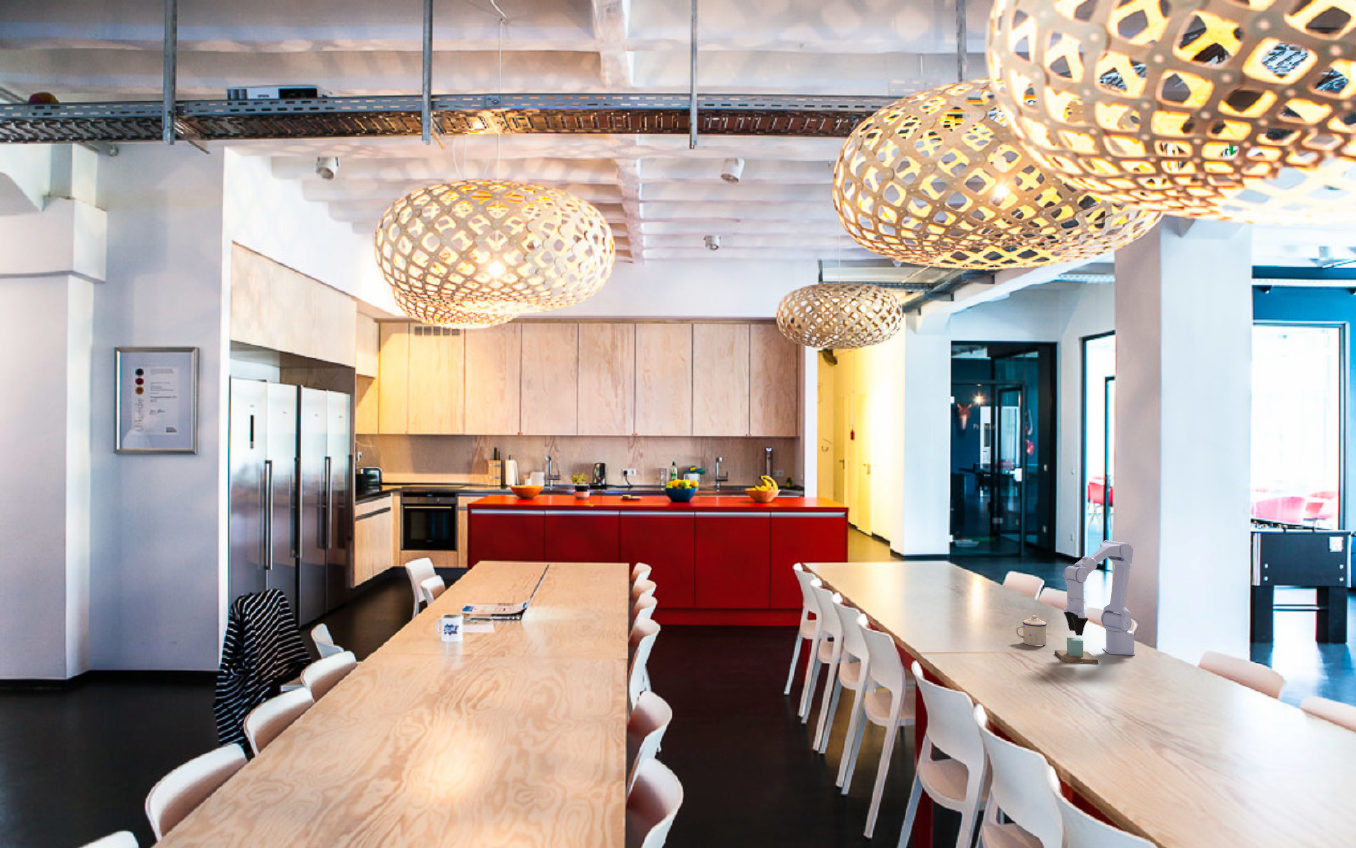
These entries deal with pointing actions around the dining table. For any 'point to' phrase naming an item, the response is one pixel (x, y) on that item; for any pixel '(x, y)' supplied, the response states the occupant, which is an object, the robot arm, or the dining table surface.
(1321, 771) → the dining table surface
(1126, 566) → the robot arm
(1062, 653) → the walnut slab
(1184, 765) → the dining table surface
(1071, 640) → the teal block
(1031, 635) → the teacup with lid
